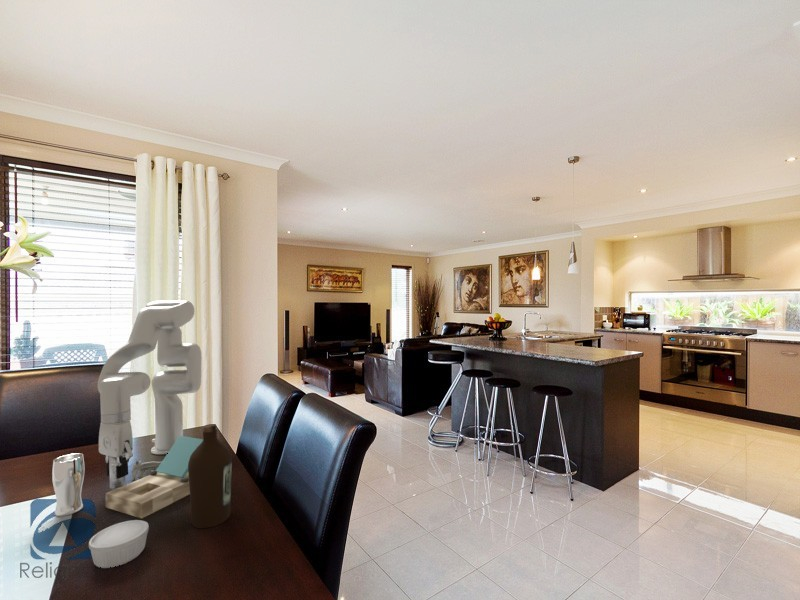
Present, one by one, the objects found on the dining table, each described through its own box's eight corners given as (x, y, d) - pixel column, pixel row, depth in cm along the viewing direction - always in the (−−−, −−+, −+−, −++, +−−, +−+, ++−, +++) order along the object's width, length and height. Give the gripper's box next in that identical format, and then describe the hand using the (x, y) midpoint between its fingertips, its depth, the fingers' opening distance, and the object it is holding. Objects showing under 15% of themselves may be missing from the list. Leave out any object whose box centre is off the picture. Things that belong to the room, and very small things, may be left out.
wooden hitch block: (105, 507, 111) (105, 489, 111) (176, 475, 131) (176, 460, 131) (142, 518, 104) (142, 499, 105) (211, 483, 125) (210, 467, 125)
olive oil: (183, 533, 97) (182, 433, 98) (194, 511, 108) (193, 421, 108) (229, 526, 100) (227, 429, 100) (235, 505, 110) (234, 418, 111)
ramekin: (86, 556, 89) (85, 533, 89) (143, 535, 97) (142, 514, 97) (92, 580, 81) (92, 555, 81) (154, 555, 89) (153, 532, 89)
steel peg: (106, 487, 120) (106, 455, 120) (120, 481, 124) (119, 450, 123) (114, 489, 118) (114, 457, 118) (128, 483, 122) (127, 452, 122)
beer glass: (91, 505, 112) (90, 454, 112) (64, 518, 105) (63, 463, 105) (73, 503, 114) (72, 452, 114) (46, 515, 107) (45, 461, 107)
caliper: (133, 481, 128) (133, 462, 128) (131, 481, 128) (131, 462, 128) (194, 460, 145) (193, 443, 145) (192, 459, 146) (192, 442, 146)
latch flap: (157, 472, 123) (155, 470, 122) (181, 436, 131) (179, 435, 130) (183, 478, 118) (181, 476, 118) (207, 441, 126) (205, 439, 126)
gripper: (86, 417, 121) (88, 476, 121) (120, 424, 114) (121, 485, 114) (112, 411, 127) (113, 466, 128) (145, 416, 121) (147, 474, 121)
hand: (117, 474), depth 121 cm, fingers closed on steel peg, 4 cm apart
